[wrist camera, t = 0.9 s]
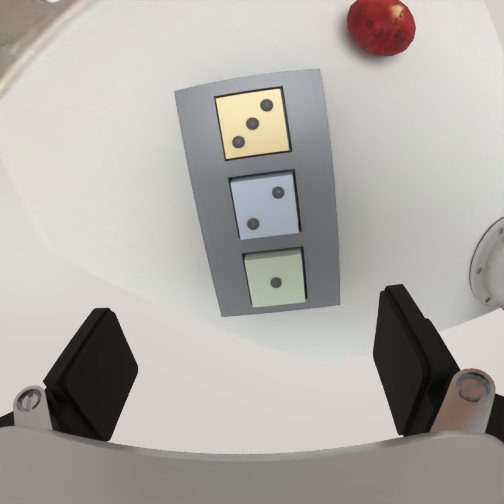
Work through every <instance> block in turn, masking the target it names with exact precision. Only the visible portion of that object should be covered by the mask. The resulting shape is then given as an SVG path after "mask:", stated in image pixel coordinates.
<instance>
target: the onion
mask: <svg viewBox="0 0 504 504" xmlns="http://www.w3.org/2000/svg"><path fill="white" fill-rule="evenodd" d="M347 22H348V29H349V31H350V33H351V35H352V37H353V39H354V40H355V41H356V42H357V43H358V44H359V45H360V46H361V47H362V48H363V49H365V50H367V51H369V52H371V53H373V54H375V55H383V56H393V55H395V54H398V53H400V52H403V51H404V50H406V49H407V48H408V46H409V45H410V44H411V42H412V41H413V39H414V35H415V30H416V26H415V22H414V18H413V16H412V14H411V12H410V10H409V9H408V7H407V6H405V5H404V4H403V3H402V2H401V1H399V0H357V1H356V2H355V3H354V4H352V5H351V6H350V10H349V13H348V17H347Z"/></svg>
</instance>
